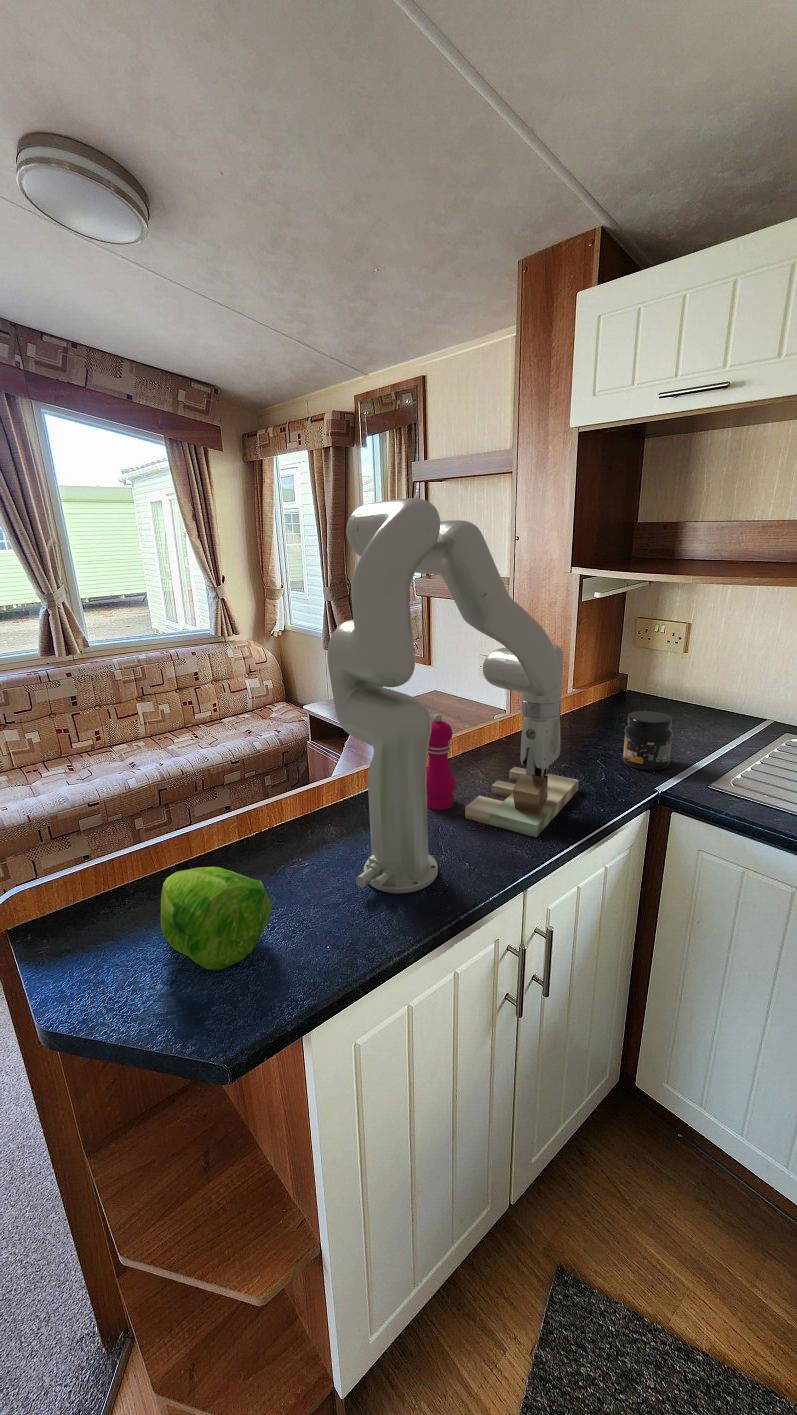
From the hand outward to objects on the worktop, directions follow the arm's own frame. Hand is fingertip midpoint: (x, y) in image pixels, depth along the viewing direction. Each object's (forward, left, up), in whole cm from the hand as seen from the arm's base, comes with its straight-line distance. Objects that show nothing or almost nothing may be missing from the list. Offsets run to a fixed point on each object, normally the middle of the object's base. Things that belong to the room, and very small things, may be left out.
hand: (538, 793), depth 116 cm
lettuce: (-63, +24, -4) cm, 67 cm away
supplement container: (+36, -13, -4) cm, 39 cm away
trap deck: (+1, +4, -4) cm, 5 cm away
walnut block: (-4, 0, 0) cm, 4 cm away
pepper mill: (-8, +19, -4) cm, 21 cm away
